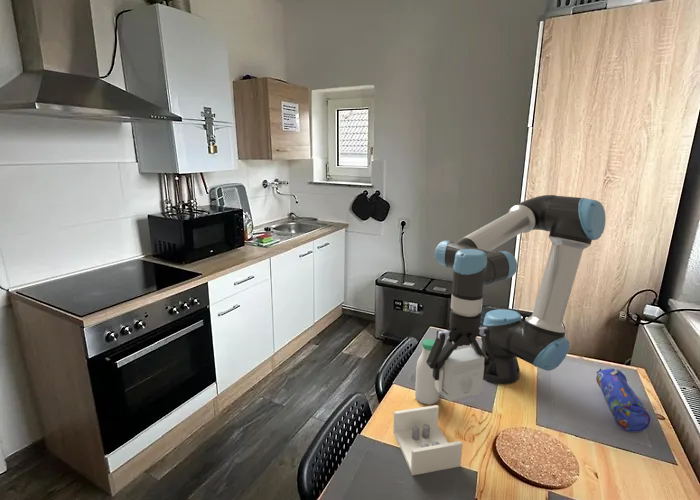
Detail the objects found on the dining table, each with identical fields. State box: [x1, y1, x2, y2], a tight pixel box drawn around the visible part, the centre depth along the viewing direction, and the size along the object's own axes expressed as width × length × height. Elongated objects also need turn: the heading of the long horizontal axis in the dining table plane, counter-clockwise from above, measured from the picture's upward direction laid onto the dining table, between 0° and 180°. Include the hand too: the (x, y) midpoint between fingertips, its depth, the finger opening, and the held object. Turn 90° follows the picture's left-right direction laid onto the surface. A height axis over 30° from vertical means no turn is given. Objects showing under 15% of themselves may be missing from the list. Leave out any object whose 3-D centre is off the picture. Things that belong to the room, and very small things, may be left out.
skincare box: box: [440, 347, 485, 402], centre depth 100 cm, size 10×6×10 cm, turn 111°
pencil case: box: [595, 368, 652, 433], centre depth 115 cm, size 22×9×10 cm, turn 161°
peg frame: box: [392, 404, 463, 476], centre depth 101 cm, size 13×15×7 cm
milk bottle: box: [414, 338, 441, 405], centre depth 120 cm, size 8×8×20 cm
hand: (458, 386), depth 101 cm, fingers closed on skincare box, 11 cm apart
